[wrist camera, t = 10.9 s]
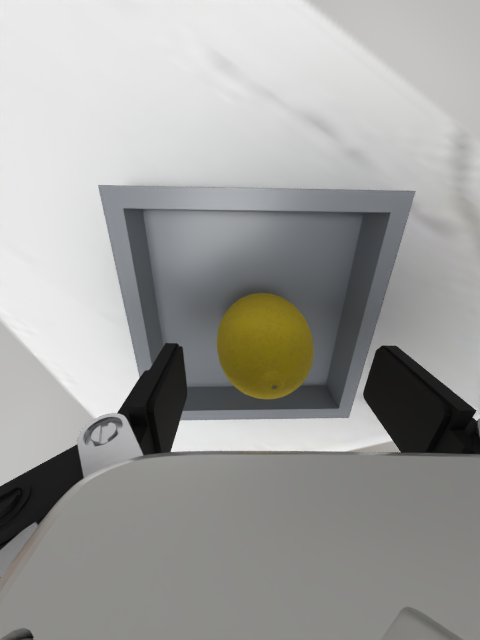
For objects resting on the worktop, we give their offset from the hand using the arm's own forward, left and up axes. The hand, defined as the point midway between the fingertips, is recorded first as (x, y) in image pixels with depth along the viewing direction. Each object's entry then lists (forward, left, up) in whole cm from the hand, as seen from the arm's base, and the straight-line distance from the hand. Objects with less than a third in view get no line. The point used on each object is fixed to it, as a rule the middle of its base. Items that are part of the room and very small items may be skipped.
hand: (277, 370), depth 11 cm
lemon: (0, 0, -7) cm, 7 cm away
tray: (+1, 0, -8) cm, 8 cm away
